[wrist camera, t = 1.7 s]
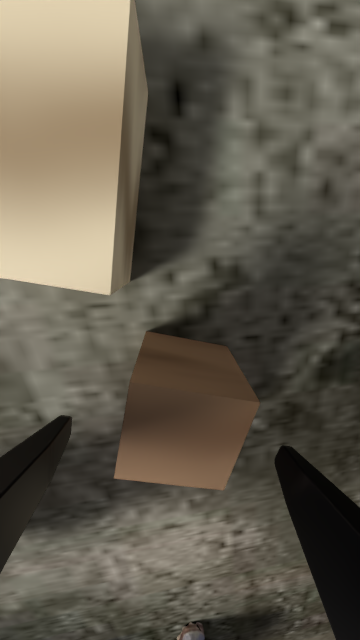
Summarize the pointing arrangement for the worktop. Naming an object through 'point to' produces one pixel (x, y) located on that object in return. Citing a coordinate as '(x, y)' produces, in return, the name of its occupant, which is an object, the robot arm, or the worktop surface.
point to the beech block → (70, 141)
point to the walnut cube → (184, 414)
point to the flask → (192, 632)
